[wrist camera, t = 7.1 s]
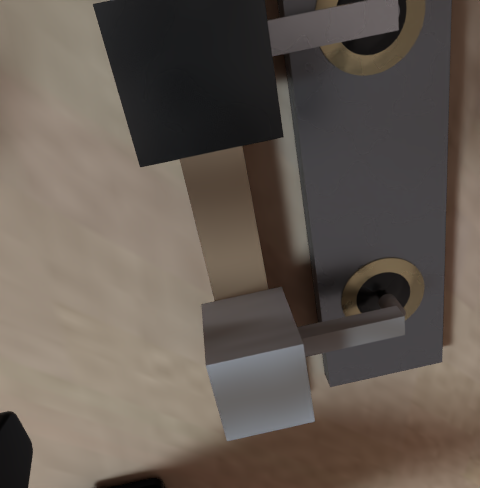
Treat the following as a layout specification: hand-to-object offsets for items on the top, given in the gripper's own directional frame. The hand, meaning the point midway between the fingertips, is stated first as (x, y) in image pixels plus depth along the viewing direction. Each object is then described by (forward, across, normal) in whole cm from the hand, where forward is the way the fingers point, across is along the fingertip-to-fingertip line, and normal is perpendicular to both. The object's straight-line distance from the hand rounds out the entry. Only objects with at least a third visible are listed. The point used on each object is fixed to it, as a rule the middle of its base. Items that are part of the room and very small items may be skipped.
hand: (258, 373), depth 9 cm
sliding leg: (+10, -3, -5) cm, 12 cm away
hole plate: (+12, -6, +1) cm, 14 cm away
